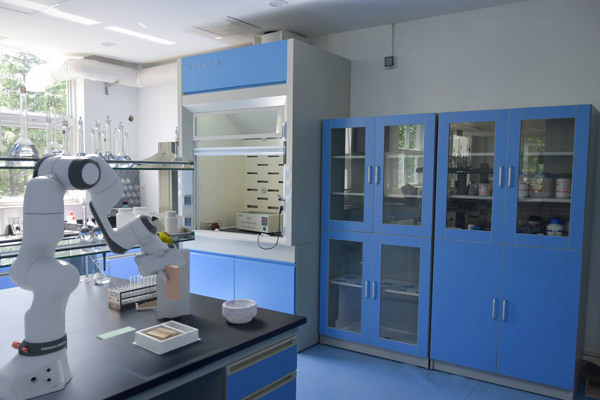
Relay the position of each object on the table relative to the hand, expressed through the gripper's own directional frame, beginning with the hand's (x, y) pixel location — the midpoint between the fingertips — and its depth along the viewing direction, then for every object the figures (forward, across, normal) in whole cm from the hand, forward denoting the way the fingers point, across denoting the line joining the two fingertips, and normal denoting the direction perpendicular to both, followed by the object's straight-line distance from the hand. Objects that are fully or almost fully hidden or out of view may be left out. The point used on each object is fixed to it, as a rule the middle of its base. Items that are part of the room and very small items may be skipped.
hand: (171, 280), depth 179 cm
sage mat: (+5, -10, +28) cm, 30 cm away
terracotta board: (+6, 0, +5) cm, 7 cm away
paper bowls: (+22, +32, +11) cm, 40 cm away
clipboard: (-14, +27, +48) cm, 57 cm away
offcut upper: (+17, -7, +12) cm, 22 cm away
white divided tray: (+19, -5, +14) cm, 24 cm away
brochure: (+2, +18, +31) cm, 36 cm away
